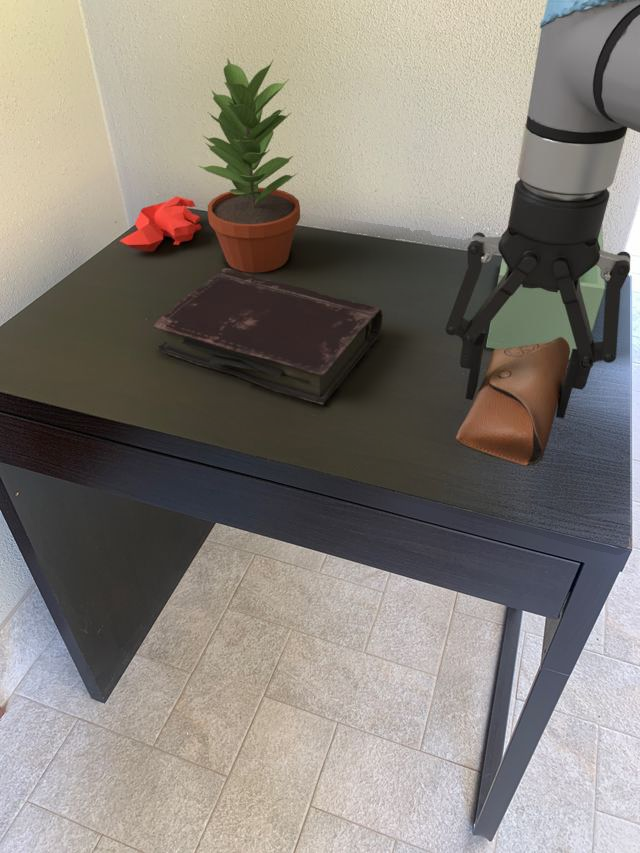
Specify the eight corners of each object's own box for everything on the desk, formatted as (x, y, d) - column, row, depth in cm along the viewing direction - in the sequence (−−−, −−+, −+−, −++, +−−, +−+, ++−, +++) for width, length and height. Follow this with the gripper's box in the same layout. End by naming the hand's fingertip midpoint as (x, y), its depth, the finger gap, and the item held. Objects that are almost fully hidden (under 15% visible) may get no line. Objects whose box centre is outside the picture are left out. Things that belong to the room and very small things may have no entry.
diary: (230, 293, 104) (227, 263, 101) (381, 334, 95) (383, 303, 92) (154, 357, 92) (148, 325, 88) (320, 411, 83) (320, 378, 79)
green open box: (582, 362, 90) (605, 288, 83) (485, 347, 93) (499, 274, 85) (583, 279, 106) (601, 211, 99) (500, 269, 109) (512, 202, 102)
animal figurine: (113, 256, 113) (106, 227, 110) (156, 219, 124) (151, 191, 121) (175, 266, 111) (171, 237, 107) (214, 227, 121) (211, 199, 118)
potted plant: (216, 237, 118) (194, 42, 98) (303, 238, 118) (299, 43, 98) (201, 280, 107) (173, 70, 87) (298, 281, 106) (291, 71, 87)
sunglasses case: (490, 345, 78) (530, 306, 73) (538, 382, 78) (581, 346, 74) (451, 443, 65) (496, 405, 61) (508, 486, 66) (557, 452, 61)
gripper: (701, 181, 56) (624, 399, 70) (444, 154, 61) (423, 361, 76) (707, 218, 50) (623, 446, 65) (425, 184, 56) (406, 401, 71)
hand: (515, 400), depth 70 cm, fingers closed on sunglasses case, 8 cm apart
